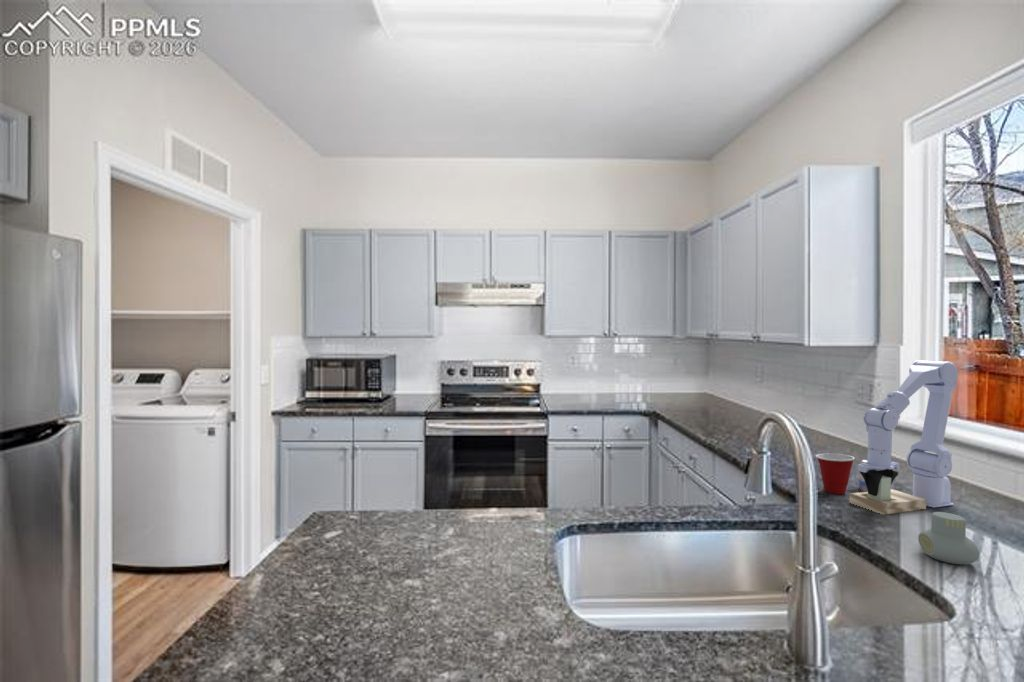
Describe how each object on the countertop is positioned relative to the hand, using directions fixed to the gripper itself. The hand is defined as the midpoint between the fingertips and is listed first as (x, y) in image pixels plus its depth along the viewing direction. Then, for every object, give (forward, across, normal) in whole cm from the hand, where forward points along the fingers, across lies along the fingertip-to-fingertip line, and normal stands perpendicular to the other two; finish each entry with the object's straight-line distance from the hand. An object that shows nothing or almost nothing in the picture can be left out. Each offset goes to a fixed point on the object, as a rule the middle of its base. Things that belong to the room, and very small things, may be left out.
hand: (878, 494), depth 148 cm
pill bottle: (+4, +14, +13) cm, 20 cm away
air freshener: (+4, -20, -30) cm, 36 cm away
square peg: (+2, 0, 0) cm, 3 cm away
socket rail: (+4, +4, 0) cm, 6 cm away
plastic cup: (+4, +1, +15) cm, 16 cm away
